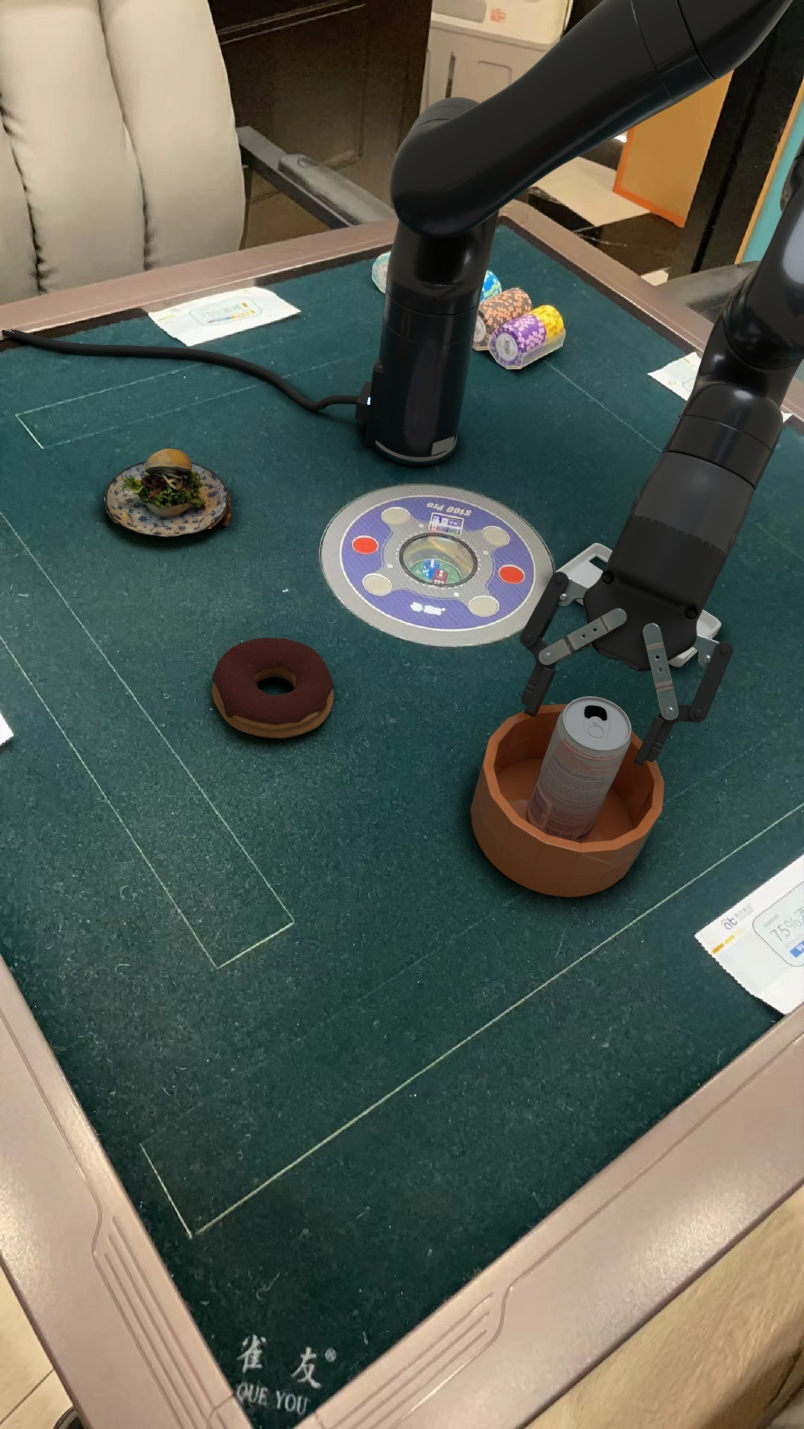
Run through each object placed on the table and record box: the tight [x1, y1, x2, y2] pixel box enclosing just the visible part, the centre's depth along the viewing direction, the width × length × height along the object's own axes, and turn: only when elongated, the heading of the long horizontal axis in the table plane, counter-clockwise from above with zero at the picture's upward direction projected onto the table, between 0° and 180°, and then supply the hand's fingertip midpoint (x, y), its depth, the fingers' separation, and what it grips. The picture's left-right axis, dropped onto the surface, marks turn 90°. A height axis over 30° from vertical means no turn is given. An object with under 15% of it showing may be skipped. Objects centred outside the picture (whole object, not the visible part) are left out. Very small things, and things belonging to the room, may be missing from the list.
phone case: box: [554, 542, 722, 668], centre depth 100 cm, size 7×1×15 cm
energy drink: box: [527, 695, 632, 842], centre depth 79 cm, size 5×5×12 cm
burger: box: [103, 428, 232, 538], centre depth 100 cm, size 12×12×8 cm
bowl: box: [470, 703, 665, 898], centre depth 81 cm, size 14×14×6 cm
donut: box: [211, 637, 335, 739], centre depth 87 cm, size 10×10×4 cm
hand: (582, 739), depth 76 cm, fingers open, 8 cm apart
